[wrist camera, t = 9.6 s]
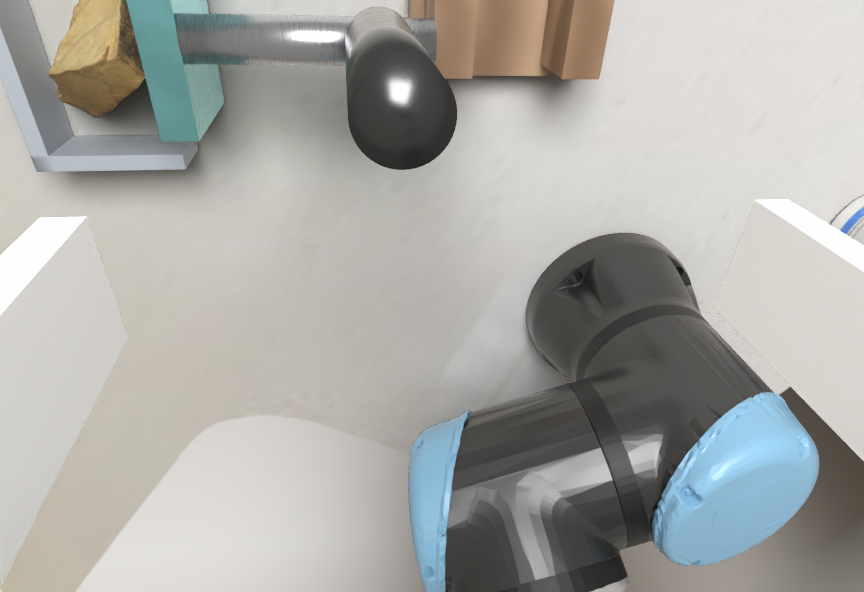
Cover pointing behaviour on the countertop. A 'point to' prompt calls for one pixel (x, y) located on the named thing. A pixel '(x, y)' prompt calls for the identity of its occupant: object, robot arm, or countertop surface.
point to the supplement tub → (852, 220)
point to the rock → (98, 57)
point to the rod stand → (518, 36)
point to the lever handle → (301, 45)
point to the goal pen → (46, 117)
